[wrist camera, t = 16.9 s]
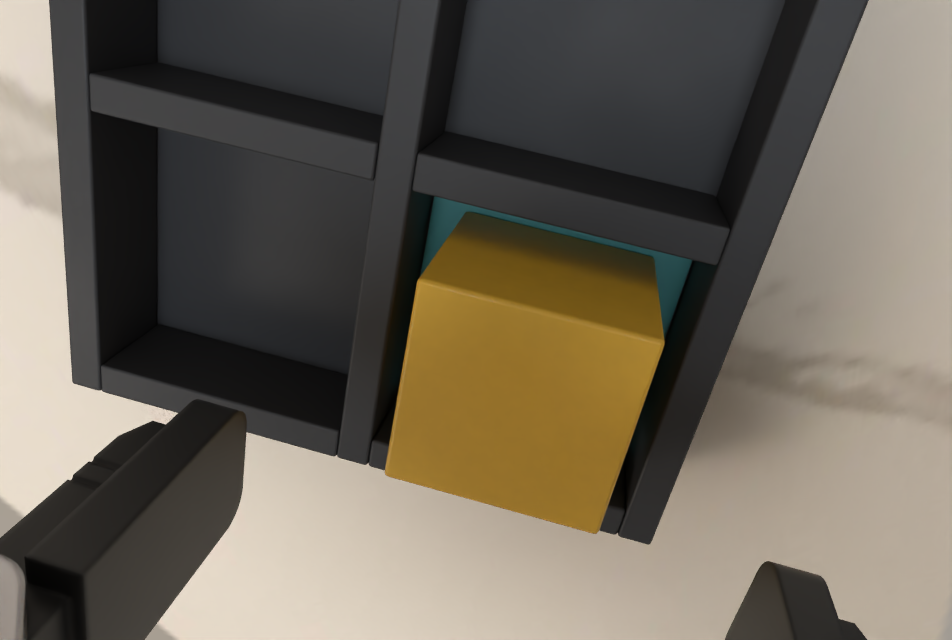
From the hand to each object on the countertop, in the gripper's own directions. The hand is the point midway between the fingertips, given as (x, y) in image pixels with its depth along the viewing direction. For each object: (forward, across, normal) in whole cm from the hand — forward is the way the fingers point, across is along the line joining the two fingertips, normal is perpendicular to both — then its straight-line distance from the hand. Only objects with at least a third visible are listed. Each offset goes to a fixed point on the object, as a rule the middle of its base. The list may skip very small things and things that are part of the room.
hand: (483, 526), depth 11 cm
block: (+8, 0, 0) cm, 8 cm away
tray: (+8, +4, -4) cm, 10 cm away
